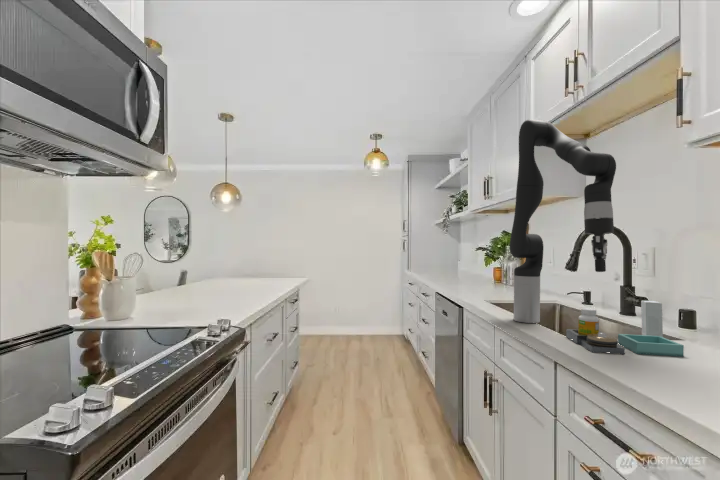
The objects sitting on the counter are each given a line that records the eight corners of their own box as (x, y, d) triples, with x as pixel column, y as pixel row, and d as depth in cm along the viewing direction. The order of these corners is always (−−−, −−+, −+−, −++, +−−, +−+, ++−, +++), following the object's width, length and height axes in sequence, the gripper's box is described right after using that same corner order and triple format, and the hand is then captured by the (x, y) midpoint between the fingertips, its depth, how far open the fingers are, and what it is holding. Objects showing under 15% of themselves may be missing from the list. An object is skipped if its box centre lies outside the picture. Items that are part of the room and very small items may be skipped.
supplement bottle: (574, 340, 120) (575, 308, 120) (582, 338, 123) (583, 307, 123) (594, 344, 116) (594, 311, 116) (601, 342, 119) (602, 309, 119)
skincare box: (663, 343, 118) (664, 303, 118) (645, 342, 120) (645, 302, 120) (657, 339, 124) (657, 300, 124) (640, 338, 126) (640, 299, 126)
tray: (618, 344, 117) (618, 333, 117) (659, 346, 115) (659, 336, 115) (636, 353, 106) (637, 342, 106) (683, 356, 104) (683, 345, 104)
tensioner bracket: (566, 336, 125) (566, 322, 125) (598, 338, 123) (599, 324, 123) (589, 352, 107) (589, 335, 107) (627, 354, 105) (627, 337, 105)
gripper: (586, 221, 128) (588, 271, 127) (581, 216, 116) (584, 271, 115) (614, 219, 124) (616, 271, 123) (612, 214, 112) (614, 272, 111)
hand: (600, 271), depth 119 cm, fingers open, 8 cm apart
